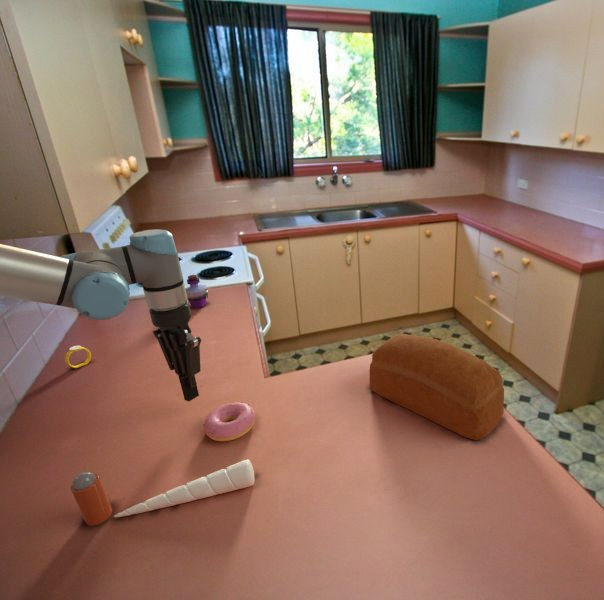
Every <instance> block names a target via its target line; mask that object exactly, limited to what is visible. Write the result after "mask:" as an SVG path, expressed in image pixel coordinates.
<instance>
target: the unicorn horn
mask: <svg viewBox="0 0 604 600" xmlns="http://www.w3.org/2000/svg"><path fill="white" fill-rule="evenodd" d="M254 471H255V470H254V468H253V463H252V462H251V460H250V459H244V460H241V461H239V462H236V463H234V464H232V465H229V466H226V468H221V469H218V470H216V471H214V472H212V473H208V474H207V475H206V476H202V477H199V478H196V479H195V480H191V481H188V482H187V483H185V484H181V485H180V486H177V487H174V488H172V489H169V490H168V491H167V490H166V491H165V493H164V492H163V493H159V494H158V495H155V496H153V497H151V498H148V499H146V500H144V501H143V502H142V501H141V502H139V503H137V504H135V505H132V506H130V507H127V508H126V509H124V510H123V511H120V512H118V513H116V514H114V515H113V518H121V517H128V516H132V515H137V514H142V513H146V512H150V511H155V510H159V509H164V508H168V507H173V506H176V505H180V504H185V503H188V502H194V501H198V500H201V499H204V498H209V497H213V496H216V495H221V494H225V493H229V492H232V491H237V490H241V489H245V488H249V487H252V486H253V485H254V484H255V481H256V480H255V472H254Z"/></svg>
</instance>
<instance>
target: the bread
mask: <svg viewBox="0 0 604 600" xmlns="http://www.w3.org/2000/svg"><path fill="white" fill-rule="evenodd" d="M503 382H504V380H503V378H502V375H501V373H500V371H499V370H498V369H496V368H495V367H493V366H492V365H491V364H490V363H488V362H486V361H485V360H483V359H482V358H480V357H477V356H476V355H474V354H472V353H470V352H467V351H465V350H463V349H462V348H459V347H457V346H456V345H455V346H454V345H452V344H450V343H447V342H445V341H442V340H440V339H437V338H434V337H433V338H432V337H428V336H422V335H417V334H416V335H415V334H407V333H400V334H396V335H393V336H392V337H390V338H388V339H387V340H385V341H384V342H383V343H382V344H380V345H379V346H378V347H377V348H375V350H374V351H373V352H372V354H371V362H370V364H369V387H370V390H371V391H372V392H373V393H376V394H377V395H379V396H381V397H382V398H384V399H386V400H388V401H390V402H392V403H395V404H396V405H398V406H401V407H402V408H404V409H407V410H409V411H411V412H413V413H415V414H417V415H419V416H422V417H423V418H426V419H427V420H429V421H431V422H433V423H435V424H437V425H439V426H441V427H444V429H448V430H450V431H452V432H454V433H456V434H458V435H460V436H462V437H463V438H467V439H470V440H474V441H480V440H483V439H484V438H486V437H487V436H488V435H490V434H491V432H493V431H494V429H495V428H496V427H497V426H498V425H499V424H500V422H501V420H502V418H503V415H504V406H505V388H504V386H503Z"/></svg>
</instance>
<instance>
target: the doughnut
mask: <svg viewBox="0 0 604 600" xmlns="http://www.w3.org/2000/svg"><path fill="white" fill-rule="evenodd" d="M256 416H257V415H256V411H255V409H254V408H253V407H252V406H251V405H250V404H249V403H248V404H247V403H245V402H241V401H238V402H236V401H235V402H234V401H232V402H228V403H225V404H222V405H220V406H218V407H216V408H214V409H213V410H212V411H210V412H209V413H208V415H206V418H205V420H204V422H203V431H204V433H205V434H206V436H207V437H208V438H210V439H212V440H213V441H215V442H216V441H217V442H229V441H234V440H237V439H239V438H241V437H243V436H245V435H246V434H247V433H248V432H250V430H251V429H253V427H254V425H255V423H256Z"/></svg>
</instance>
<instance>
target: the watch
mask: <svg viewBox="0 0 604 600" xmlns="http://www.w3.org/2000/svg"><path fill="white" fill-rule="evenodd" d="M81 350H84V351H85V352H86V355H87V356H86V359H85V361H84V362H82V363H79V364H76V365H72V364H71V362H70V360H69V359H70V357H71V355H72V354H73V353H76V352H79V351H81ZM91 359H92V353H91V351H90V349H88V348H87V347H84V346H82V345H80V344H79V345H74V346H71V347H69V350H68V351H67V353H66V354H65V357H64V362H65V364H66V365H67V366H68V367H70V368H73V369H78V368H81V367H84V366H86V365H88V364H89V362H90V361H91Z"/></svg>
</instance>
